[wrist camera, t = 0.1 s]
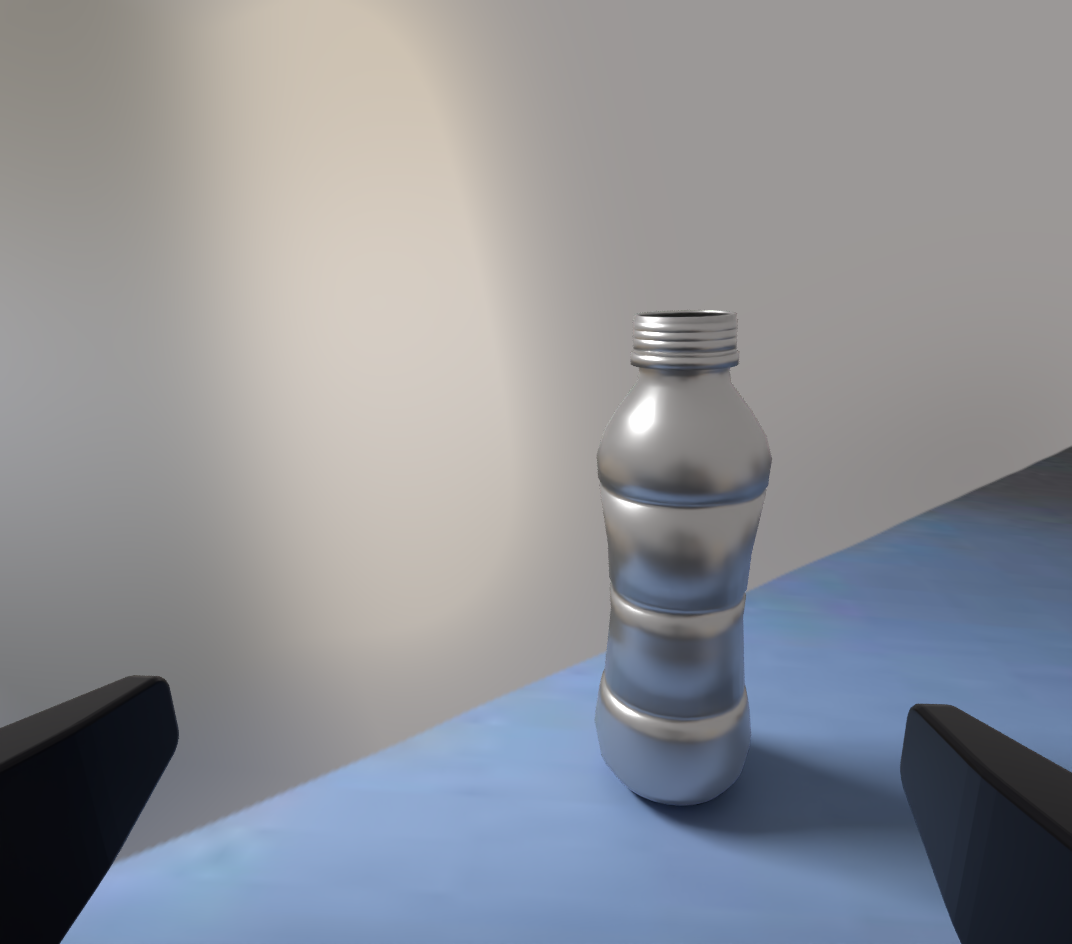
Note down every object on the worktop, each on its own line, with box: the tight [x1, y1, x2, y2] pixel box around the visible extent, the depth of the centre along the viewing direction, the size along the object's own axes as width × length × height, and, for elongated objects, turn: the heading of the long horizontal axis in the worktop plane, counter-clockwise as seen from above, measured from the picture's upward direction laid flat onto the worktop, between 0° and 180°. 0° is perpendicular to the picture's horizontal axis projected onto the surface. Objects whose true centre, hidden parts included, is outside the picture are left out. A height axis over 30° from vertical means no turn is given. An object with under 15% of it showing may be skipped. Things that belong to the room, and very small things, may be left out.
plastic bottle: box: [595, 310, 772, 806], centre depth 27 cm, size 6×7×20 cm
